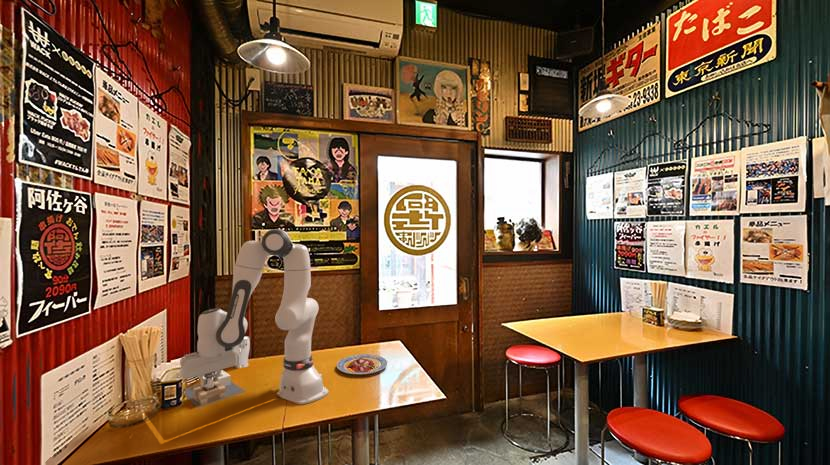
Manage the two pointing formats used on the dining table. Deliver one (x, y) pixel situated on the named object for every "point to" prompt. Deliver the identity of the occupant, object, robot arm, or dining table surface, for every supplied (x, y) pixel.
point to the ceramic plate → (361, 364)
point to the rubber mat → (230, 391)
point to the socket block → (223, 378)
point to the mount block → (209, 393)
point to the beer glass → (242, 353)
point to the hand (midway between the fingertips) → (209, 382)
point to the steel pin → (209, 381)
